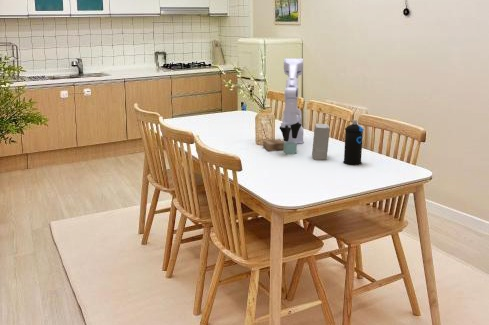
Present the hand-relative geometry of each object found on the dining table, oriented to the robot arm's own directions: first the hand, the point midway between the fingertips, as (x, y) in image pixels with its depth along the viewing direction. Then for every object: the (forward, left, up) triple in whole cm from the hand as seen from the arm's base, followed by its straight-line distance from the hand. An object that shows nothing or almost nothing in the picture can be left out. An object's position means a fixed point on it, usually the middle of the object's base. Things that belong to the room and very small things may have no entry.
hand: (290, 139), depth 256 cm
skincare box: (-11, +12, -7) cm, 18 cm away
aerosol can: (-22, +24, -7) cm, 33 cm away
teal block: (0, 0, -7) cm, 7 cm away
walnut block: (+5, -10, -7) cm, 13 cm away
